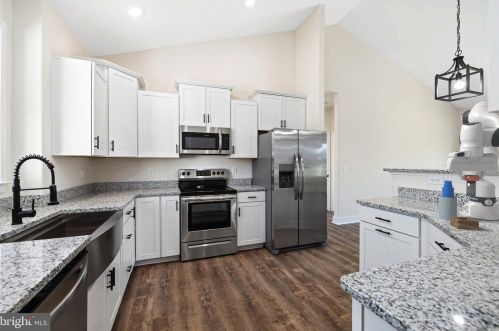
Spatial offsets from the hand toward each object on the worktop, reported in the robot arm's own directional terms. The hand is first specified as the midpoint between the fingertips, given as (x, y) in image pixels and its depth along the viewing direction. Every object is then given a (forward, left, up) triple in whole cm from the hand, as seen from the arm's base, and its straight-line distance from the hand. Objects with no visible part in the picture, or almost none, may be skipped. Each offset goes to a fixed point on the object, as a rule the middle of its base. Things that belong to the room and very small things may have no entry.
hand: (471, 179), depth 118 cm
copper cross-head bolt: (0, 0, -8) cm, 8 cm away
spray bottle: (-32, +3, -29) cm, 43 cm away
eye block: (-12, +2, -28) cm, 31 cm away
